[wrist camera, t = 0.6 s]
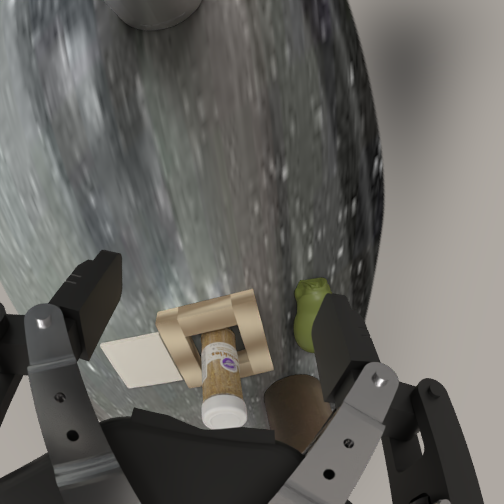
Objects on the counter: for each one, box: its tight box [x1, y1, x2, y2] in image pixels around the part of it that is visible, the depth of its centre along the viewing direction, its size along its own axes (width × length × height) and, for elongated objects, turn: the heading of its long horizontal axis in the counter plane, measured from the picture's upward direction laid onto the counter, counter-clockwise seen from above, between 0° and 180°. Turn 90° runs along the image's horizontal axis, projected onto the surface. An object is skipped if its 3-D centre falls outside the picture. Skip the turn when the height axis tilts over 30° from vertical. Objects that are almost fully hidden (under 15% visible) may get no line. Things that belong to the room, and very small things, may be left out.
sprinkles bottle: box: [201, 327, 247, 429], centre depth 33 cm, size 5×5×14 cm
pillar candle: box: [264, 374, 332, 453], centre depth 40 cm, size 10×10×15 cm
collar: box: [155, 289, 274, 388], centre depth 38 cm, size 12×12×2 cm
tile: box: [100, 332, 183, 388], centre depth 40 cm, size 9×9×1 cm
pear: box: [294, 277, 332, 353], centre depth 37 cm, size 6×5×10 cm
